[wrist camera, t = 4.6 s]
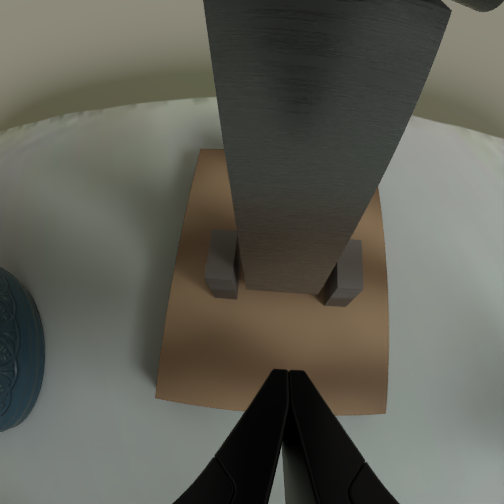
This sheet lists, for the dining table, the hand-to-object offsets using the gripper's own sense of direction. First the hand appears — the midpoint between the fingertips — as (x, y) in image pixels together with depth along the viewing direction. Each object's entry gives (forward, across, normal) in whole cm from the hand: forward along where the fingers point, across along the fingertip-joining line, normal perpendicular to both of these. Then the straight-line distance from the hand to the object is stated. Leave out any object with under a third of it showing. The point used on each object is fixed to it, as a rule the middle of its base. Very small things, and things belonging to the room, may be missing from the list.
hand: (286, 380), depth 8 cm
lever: (+9, 0, +1) cm, 9 cm away
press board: (+10, 0, +3) cm, 11 cm away
